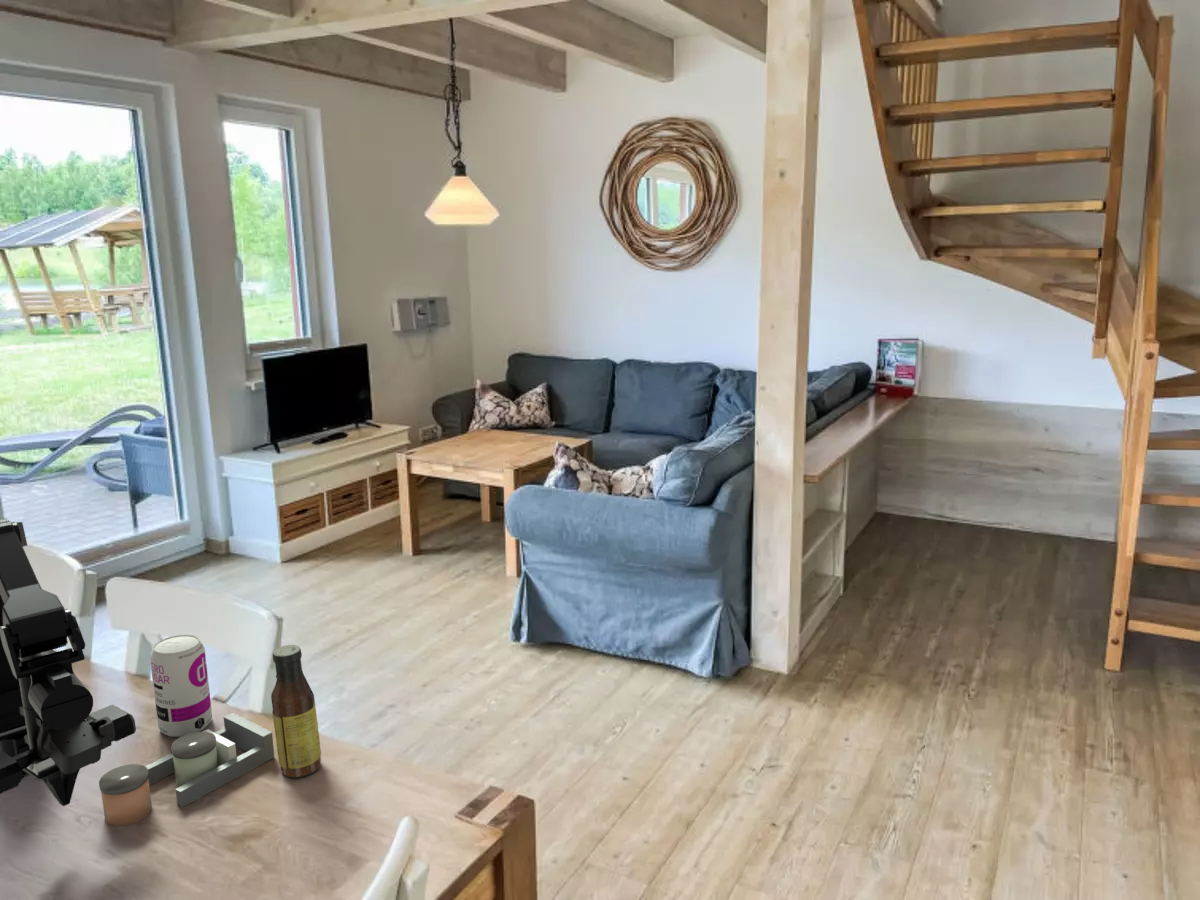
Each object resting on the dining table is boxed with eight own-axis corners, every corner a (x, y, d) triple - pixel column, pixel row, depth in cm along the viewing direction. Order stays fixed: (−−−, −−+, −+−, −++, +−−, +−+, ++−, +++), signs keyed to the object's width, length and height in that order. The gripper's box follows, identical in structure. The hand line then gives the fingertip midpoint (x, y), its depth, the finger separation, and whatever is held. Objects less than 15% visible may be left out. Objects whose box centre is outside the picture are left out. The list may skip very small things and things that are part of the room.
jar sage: (167, 779, 138) (162, 745, 136) (204, 760, 143) (200, 727, 141) (190, 793, 134) (186, 758, 133) (227, 773, 139) (224, 739, 138)
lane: (142, 783, 137) (139, 757, 136) (234, 736, 149) (232, 712, 148) (182, 807, 131) (178, 780, 130) (274, 757, 144) (272, 732, 143)
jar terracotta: (95, 816, 129) (90, 780, 128) (138, 794, 134) (133, 759, 133) (118, 832, 126) (113, 795, 125) (161, 809, 131) (156, 773, 129)
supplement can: (221, 714, 156) (212, 634, 153) (196, 740, 148) (186, 656, 145) (176, 712, 157) (167, 632, 154) (149, 737, 149) (138, 653, 146)
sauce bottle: (330, 761, 143) (320, 644, 138) (305, 783, 137) (294, 662, 132) (295, 753, 145) (284, 638, 140) (269, 775, 139) (257, 655, 134)
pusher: (203, 757, 143) (200, 732, 142) (210, 754, 144) (207, 729, 143) (230, 772, 139) (228, 746, 138) (237, 768, 140) (235, 743, 139)
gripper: (-2, 751, 107) (17, 866, 110) (151, 687, 122) (164, 790, 125) (-43, 722, 113) (-23, 832, 117) (107, 665, 128) (121, 764, 132)
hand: (64, 804), depth 122 cm, fingers closed
